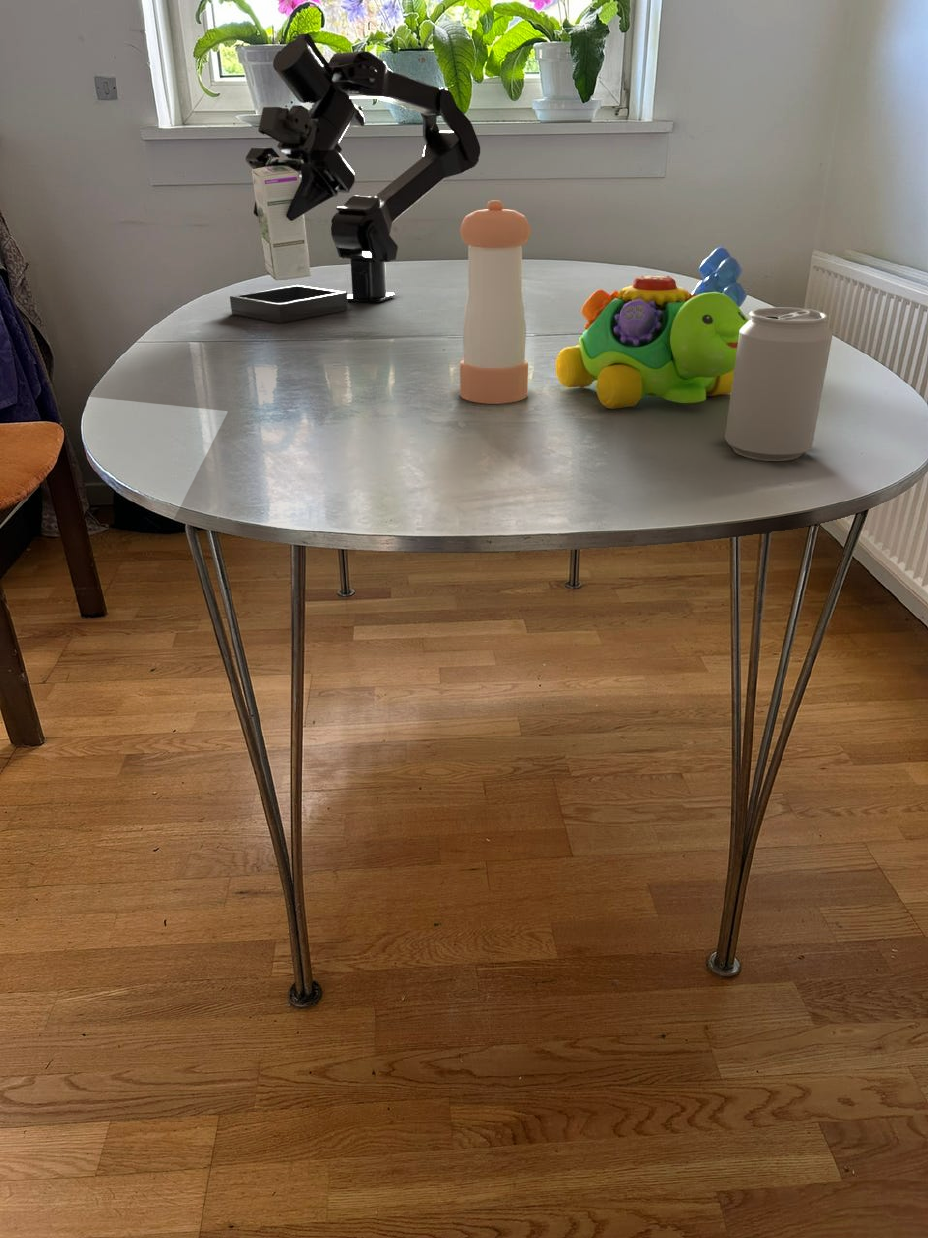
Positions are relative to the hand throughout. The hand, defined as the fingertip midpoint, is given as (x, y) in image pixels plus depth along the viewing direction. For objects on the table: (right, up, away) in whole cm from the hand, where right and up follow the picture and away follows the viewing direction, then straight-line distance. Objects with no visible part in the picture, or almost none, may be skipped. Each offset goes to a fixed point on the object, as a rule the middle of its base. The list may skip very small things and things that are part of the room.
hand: (272, 217), depth 132 cm
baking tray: (+1, -11, +9) cm, 14 cm away
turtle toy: (+49, -35, -35) cm, 69 cm away
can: (+55, -43, -51) cm, 86 cm away
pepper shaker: (+31, -34, -34) cm, 57 cm away
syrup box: (+1, -6, +6) cm, 9 cm away
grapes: (+59, -24, -15) cm, 65 cm away
